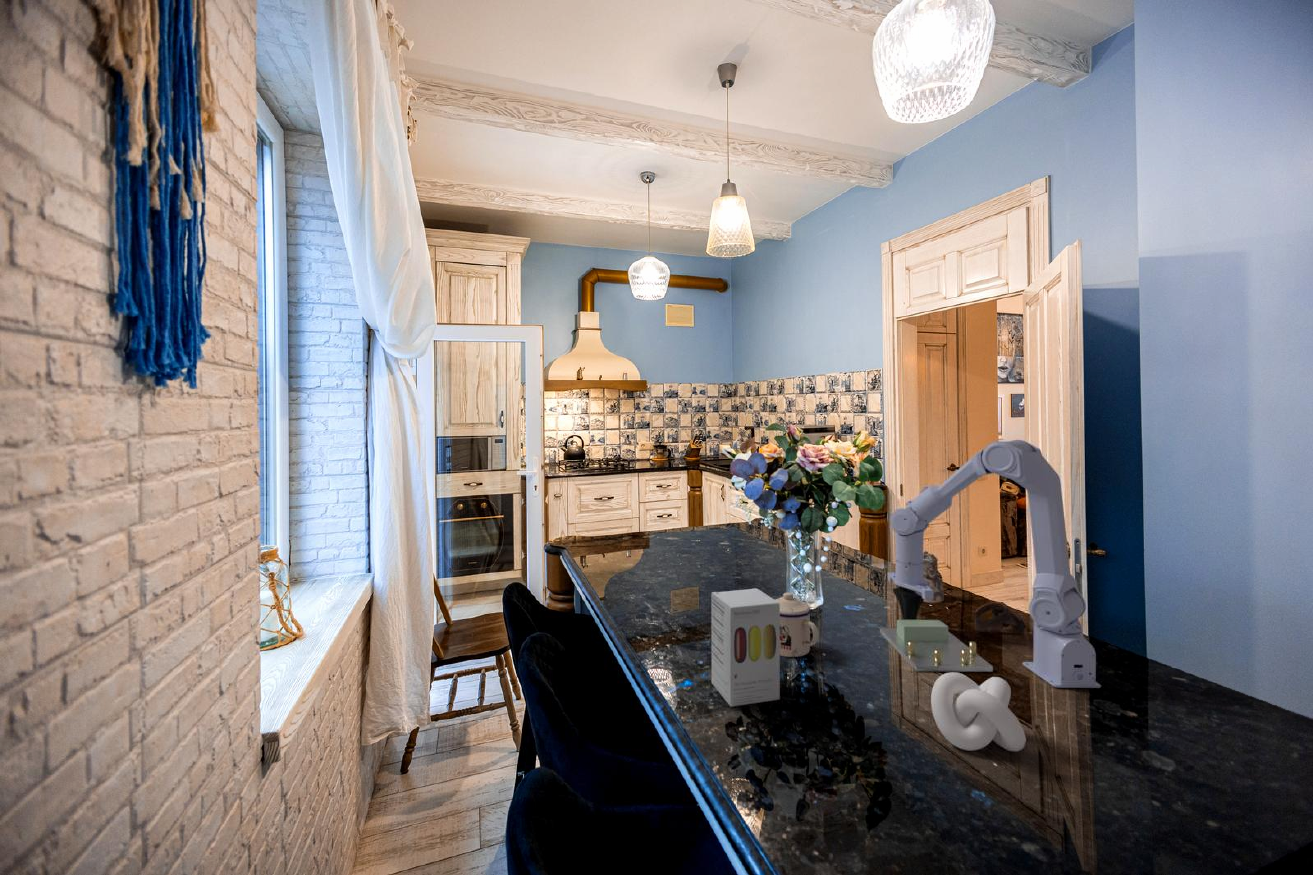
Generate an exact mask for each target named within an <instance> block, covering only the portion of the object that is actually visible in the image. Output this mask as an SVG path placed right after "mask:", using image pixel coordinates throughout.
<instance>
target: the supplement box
mask: <svg viewBox="0 0 1313 875" xmlns="http://www.w3.org/2000/svg"><path fill="white" fill-rule="evenodd" d="M780 657H781V656H780V604H779V603H778V602H777V601H776V600H775V599H774V597H771V596H769V595H768V594H767V593H765V592H763V591H762V590H760V589H758V588H756V587H755V588H749V589H737V590H729V591H712V592H711V684H712V685H713V686H714V688H715V689H716V690H717V691H718V693H719V694H720V696H721V697H723V699H724V701H725V702H726V703H727V704H728V705H729V707H731V708H733V707H738V706H745V705H750V704H757V703H763V702H770V701H777V700H780V698H781V696H780V695H781V694H780V687H781V686H780V685H781V684H780V682H781V681H780V680H781V679H780V678H781V675H780V673H781V672H780V668H781V667H780V661H781V658H780Z"/></svg>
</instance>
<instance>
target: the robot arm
mask: <svg viewBox="0 0 1313 875" xmlns="http://www.w3.org/2000/svg"><path fill="white" fill-rule="evenodd" d="M993 474H994V475H997V476H1001V477H1004V478H1007V479H1010V480H1012V481H1014V482H1015V483H1017V484H1018V485H1020V486H1021V487H1022V488H1024V489H1026V490H1027V499H1028V509H1029V517H1030V518H1029V519H1030V527H1031V537H1032V544H1033V546H1032V547H1033V556H1034V564H1035V566H1034V567H1035V574H1036V575H1035V578H1034V580H1033V585H1032V597H1031V599H1030V602H1029V604H1028V612H1029V615H1030V617H1031V619H1032V620H1033V661H1022V666H1024V667H1026V668H1027V669H1028V670H1029V671H1031V672H1032V673H1033V674H1035V675H1036V676H1038V677H1039V678H1041V679H1042V680H1044V681H1045V682H1046V683H1047V684H1049V685H1050V686H1052V687H1053V688H1060V689H1061V688H1066V689H1067V688H1071V689H1073V688H1074V689H1075V688H1076V689H1077V688H1079V689H1080V688H1081V689H1082V688H1083V689H1084V688H1085V689H1094V688H1096V689H1100V688H1101V687H1102V685H1101V684H1100V683H1098V682H1097V681H1096V678H1097V676H1096V671H1097V670H1096V669H1097V668H1096V667H1097V660H1096V659H1097V657H1096V656H1097V654H1096V653H1097V652H1096V651H1095V648H1094V646H1093V645H1092V644H1091V643H1090V642H1089V641H1088V640H1087V639H1086V638H1085V636H1084V635H1083V626H1082V624H1081V623H1080V618H1081V617H1082V616H1083V615H1084V614H1085V613H1086V612H1085V611H1086V610H1087V608H1086V607H1087V606H1086V604H1087V603H1086V600H1085V599H1084V597H1083V595H1082V594H1081V592H1080V590H1079V587H1078V581H1077V579H1076V578H1074V576H1073V575H1072V574H1071V567H1070V558H1069V549H1068V540H1067V539H1068V538H1067V530H1066V521H1065V511H1064V510H1065V509H1064V501H1063V493H1062V482H1061V478H1060V476H1059V474H1058V473H1057V471H1056V470H1055V469H1054V467H1052V465H1051V464H1050V462H1048V461H1047V459H1046V458H1045V457H1044V456H1043V453H1042V450H1041V449H1040V448H1038V447H1036V446H1035V445H1033V444H1031V443H1030V442H1027V441H1026V440H1022V439H1014V440H1009V441H1007V440H1006V441H1003V440H1002V441H1001V440H999V441H998V440H997V441H993V442H991V443H989V444H988V445H987V446H986V447H985V448H984V449H981V450H979V451H978V452H976V453H974V455H973V456H972V457H971V458H970V459H968V461H966V462H965V463H964V464H963V465H962V466H960V468H958V470H956V471H955V472H954V473H953V474H952V475H951V476H949V478H947V479H946V480H945V481H944V482H943V483H942V484H940V485H939V486H938V485H930V486H924V487H922V488H921V489H920V492H921V493H920V494H919V495H917V496H916V497H915V498H914V499H912V500H908V501H907V502H905V505H906V506H905V508H903V507H902V508H897V509H895V510H894V512H892V514H891V516H890V520H889V521H890V522H889V523H890V526H891V528H892V530H893V532H895V534H894V535H895V536H894V537H895V538H894V540H895V542H894V543H895V544H894V545H895V546H894V548H895V549H894V550H895V551H894V552H895V554H894V556H895V558H894V559H895V571H891V572H887V581H888V582H893V583H894V584H895V585H896V586H898V587H894V588H892V592H893V594H894V595H895V598H896V600H897V601H898V605H899V608H900V612H901V616H902V620H917V617H918V614H919V611H920V608H921V606H922V603H923V602H924V601H923V600H924V599H925V600H927V599H934V595H933V590H932V589H930V588H929V587H928V586H927V584H928V581H927V580H925V579H923V555H924V535H925V534H924V532H925V531H926V530H927V529H928V527H929V524H930V523H931V522H933V521H934V520H936V518H938V517H939V516H941V514H943V513H945V512H946V511H947V510H949V508H951V507H952V504H953V498H954V497H955V496H956V495H958V494H959V493H960V492H962V491H964V490H966V488H967V487H969V486H971V485H972V484H973V483H975V482H976V481H977V480H979V479H980V478H982V477H983V476H987V475H993Z"/></svg>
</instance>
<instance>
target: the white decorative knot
mask: <svg viewBox="0 0 1313 875" xmlns="http://www.w3.org/2000/svg"><path fill="white" fill-rule="evenodd" d="M1011 691H1012V690H1011V686H1010V685H1009V683H1008V682H1007V680H1005V679H1003V678H1002V677H999V676H992V677H990V678H987V680H984V682H982V683H981V684H980V685H978V684H977V683H976V682H975V681H973V680H972V679H971V678H969V677H968V676H967V675H965V674H963V673H960V672H945V673H944V674H941V675H940V676H939V677H938V678H937V679H936V680H935V682H934V684H933V687H932V690H931V698H930V702H931V703H930V705H931V712H932V716H933V719H934V721H935V724H936V726H937V728H938V730H939V731H940V733H941V734H942V735H943V737H944V738H945V739H946V740H947V741H948V742H949V743H950V744H951V745H953V746H955V747H956V748H959V749H960V750H964V751H971V752H972V751H978V750H980V749H984V748H985V747H987V746H988V745H989V744H990V743H991V742H992V741H994V742H995V743H996V745H998V746H1000V747H1001V748H1003V749H1004V750H1006V751H1008V752H1019V751H1021V750H1022V749H1024V748H1025V744H1026V742H1027V738H1026V735H1025V734H1026V733H1025V731H1024V728H1023V727H1022V724H1021V723H1020V721H1019V719H1018V718H1017V716H1015V714H1014V713H1013V711H1012V710H1011V709H1010V708H1009V707H1008V706H1009V704H1010V700H1011V695H1012V694H1011V693H1012V692H1011ZM957 694H958V695H959V696H957V698H956V700H955V701H954V698H955V696H956V695H957ZM953 702H954V703H953Z"/></svg>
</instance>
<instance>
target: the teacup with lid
mask: <svg viewBox="0 0 1313 875" xmlns="http://www.w3.org/2000/svg"><path fill="white" fill-rule="evenodd" d="M782 595H783V596H781V597H778V598H775V599H774V600H776V601H777V602H778V603H779V604H780V657H785V658H786V657H787V658H799V657H803V656H805V655H807V654H809V652H810V651H811V647H812V646H815V645H816V644H817V643H818V640H819V636H820V635H819V629H818V627H817V625H816V624H815V623H814V622H812V621H811V618H810V617H811V612H812V609H811V606H810V605H809V604H808V603H806V601H802V600H799V599H798V598H796V597H794V595H793V593H792V592H784V593H783V594H782ZM811 631H812V638H811Z"/></svg>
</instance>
